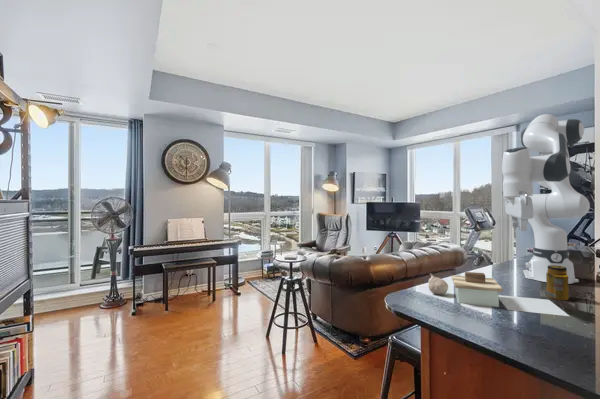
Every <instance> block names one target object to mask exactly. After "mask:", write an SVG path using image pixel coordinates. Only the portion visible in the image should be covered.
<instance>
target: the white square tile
mask: <svg viewBox="0 0 600 399" xmlns="http://www.w3.org/2000/svg"><path fill="white" fill-rule="evenodd" d="M499 302H501V303H502V304H503V306H504V307H505V308H506V310H507V311H515V312H526V313H535V314H536V313H537V314H542V315H543V314H544V315H552V316H553V315H554V316H562V317H570V315H569V314H568V313H567V312H566V311H564V310H563V309H562V308H560V306H557V304H555V303H554V302H553V301H551V300H550V299H546V298H545V299H543V298H534V297H521V296H512V295H501V294H499Z"/></svg>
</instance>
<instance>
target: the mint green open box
mask: <svg viewBox="0 0 600 399" xmlns="http://www.w3.org/2000/svg"><path fill="white" fill-rule="evenodd" d="M454 295H455V298H456V301H457V303H458V305H460V304H465V305H466V304H467V305H477V306H478V305H479V306H487V307H496V308H500V299H499V295H500V294H499V292H497V291H486V290H474V289H463V288H455V287H454Z"/></svg>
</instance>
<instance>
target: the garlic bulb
mask: <svg viewBox="0 0 600 399" xmlns="http://www.w3.org/2000/svg"><path fill="white" fill-rule="evenodd" d="M429 275H430V276H431V277H430V278H428V280H427V281H428V289H429V291H430V292H431V293H432V294H435V295H446V293H447V292H448V290H449V284H448V283H447V282H446V281H445V280H444V279H442V278H440V277H437V276H434V275H433V273H431V272H430V273H429Z"/></svg>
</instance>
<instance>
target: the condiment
mask: <svg viewBox="0 0 600 399" xmlns="http://www.w3.org/2000/svg"><path fill="white" fill-rule="evenodd" d="M547 268H548V270H547V271H548V272H547V273H546V282H545V283H546V297H547V298H549V299H551V300H556V301H568V300H569V298H570V296H569V290H570V287H569V284H568V275H567V268H566V267H563V266H556V265H549V266H548V267H547Z"/></svg>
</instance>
